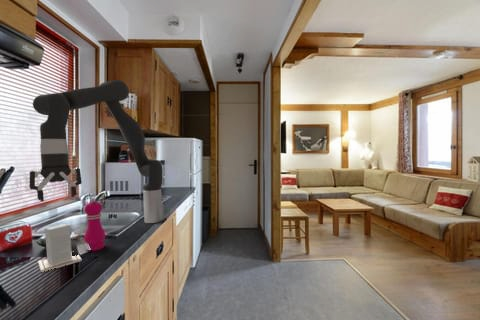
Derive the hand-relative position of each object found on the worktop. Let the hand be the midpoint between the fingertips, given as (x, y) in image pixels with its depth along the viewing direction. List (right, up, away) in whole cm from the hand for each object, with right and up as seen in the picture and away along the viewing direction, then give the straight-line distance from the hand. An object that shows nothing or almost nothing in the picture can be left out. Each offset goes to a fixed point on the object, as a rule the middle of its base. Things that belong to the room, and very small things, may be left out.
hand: (57, 199), depth 83 cm
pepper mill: (+6, -22, +12) cm, 25 cm away
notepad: (+1, -22, 0) cm, 22 cm away
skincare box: (0, -22, 0) cm, 22 cm away
